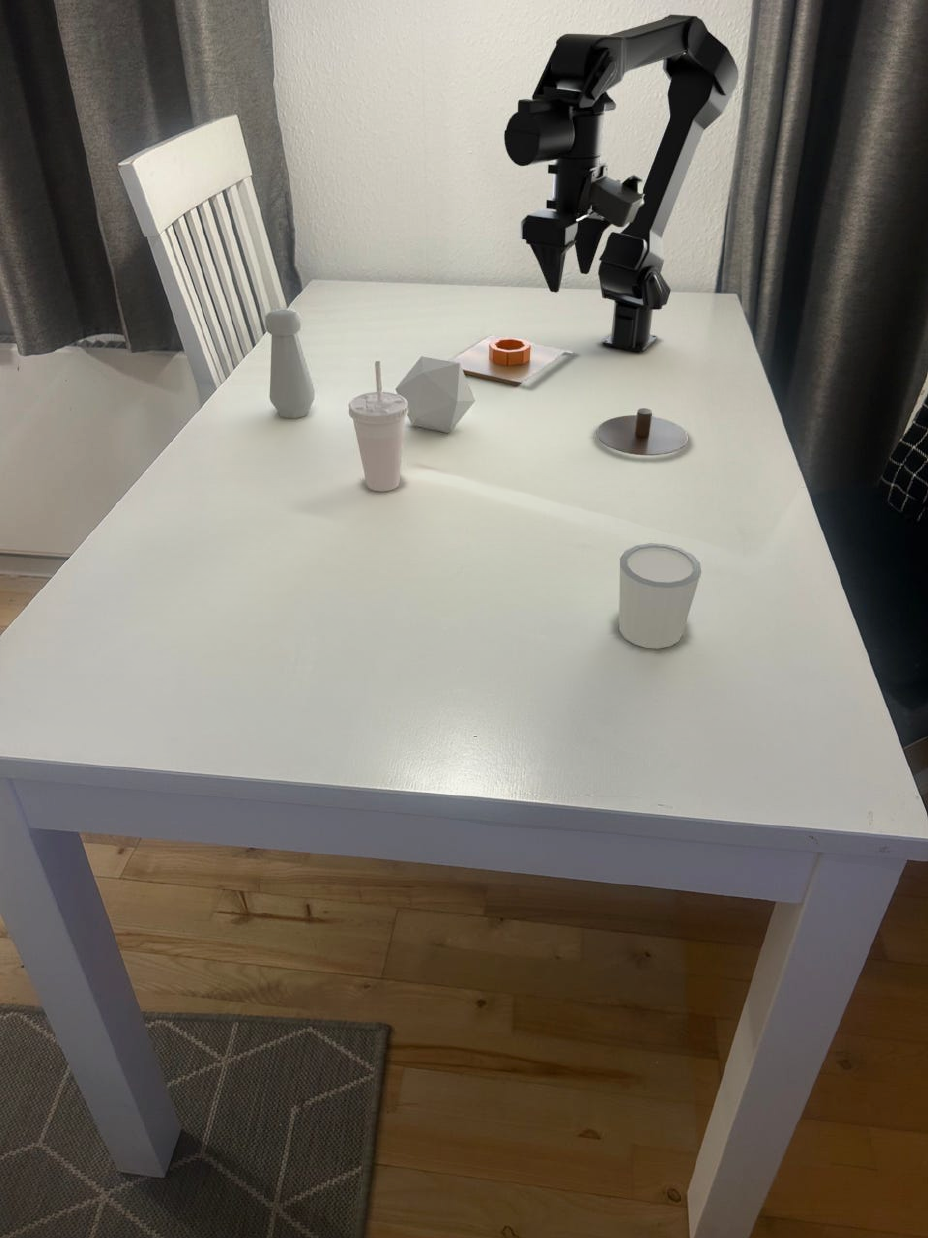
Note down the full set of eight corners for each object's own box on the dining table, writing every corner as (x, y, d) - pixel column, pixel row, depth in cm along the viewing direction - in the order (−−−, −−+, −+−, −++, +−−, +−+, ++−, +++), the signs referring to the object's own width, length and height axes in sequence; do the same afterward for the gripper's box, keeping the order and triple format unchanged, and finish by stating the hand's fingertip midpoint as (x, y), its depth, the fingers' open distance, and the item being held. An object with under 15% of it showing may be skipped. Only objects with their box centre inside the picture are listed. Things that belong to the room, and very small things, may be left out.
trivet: (490, 338, 139) (490, 334, 139) (574, 355, 134) (574, 351, 133) (442, 369, 130) (442, 364, 130) (529, 388, 124) (530, 384, 124)
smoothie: (419, 475, 105) (415, 356, 96) (398, 501, 100) (392, 379, 91) (368, 466, 106) (359, 349, 98) (345, 492, 101) (334, 371, 93)
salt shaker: (321, 403, 121) (311, 304, 113) (311, 422, 116) (299, 320, 108) (278, 401, 121) (264, 303, 113) (266, 420, 116) (251, 319, 109)
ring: (501, 348, 135) (502, 335, 133) (535, 355, 132) (536, 341, 131) (482, 360, 131) (483, 347, 130) (517, 368, 128) (517, 354, 127)
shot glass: (604, 608, 84) (611, 543, 80) (677, 604, 84) (688, 540, 80) (621, 655, 78) (629, 589, 74) (699, 651, 79) (712, 584, 75)
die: (485, 424, 117) (458, 349, 116) (476, 417, 108) (448, 336, 107) (423, 447, 118) (397, 373, 118) (410, 443, 110) (381, 363, 109)
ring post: (617, 414, 118) (620, 385, 115) (699, 432, 113) (704, 404, 111) (581, 447, 110) (583, 418, 108) (668, 469, 106) (672, 438, 103)
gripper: (606, 175, 104) (595, 312, 113) (666, 147, 116) (652, 273, 126) (520, 165, 108) (516, 298, 118) (587, 139, 121) (579, 261, 130)
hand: (569, 282), depth 123 cm, fingers open, 9 cm apart
